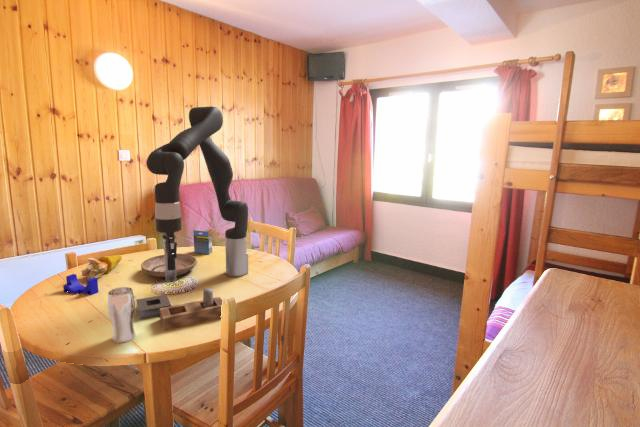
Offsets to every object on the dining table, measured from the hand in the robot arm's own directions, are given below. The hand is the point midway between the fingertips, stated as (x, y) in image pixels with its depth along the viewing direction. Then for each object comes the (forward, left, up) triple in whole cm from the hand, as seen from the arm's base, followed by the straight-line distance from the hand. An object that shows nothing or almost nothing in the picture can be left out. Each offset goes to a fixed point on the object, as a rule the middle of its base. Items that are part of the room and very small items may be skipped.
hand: (170, 267), depth 117 cm
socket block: (+5, -11, -18) cm, 22 cm away
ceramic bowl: (-6, -48, -19) cm, 52 cm away
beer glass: (+15, +4, -19) cm, 24 cm away
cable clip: (+27, -39, -19) cm, 51 cm away
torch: (+19, -58, -19) cm, 64 cm away
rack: (-6, +1, -18) cm, 20 cm away
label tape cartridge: (-26, -70, -19) cm, 77 cm away
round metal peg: (0, 0, -4) cm, 4 cm away
